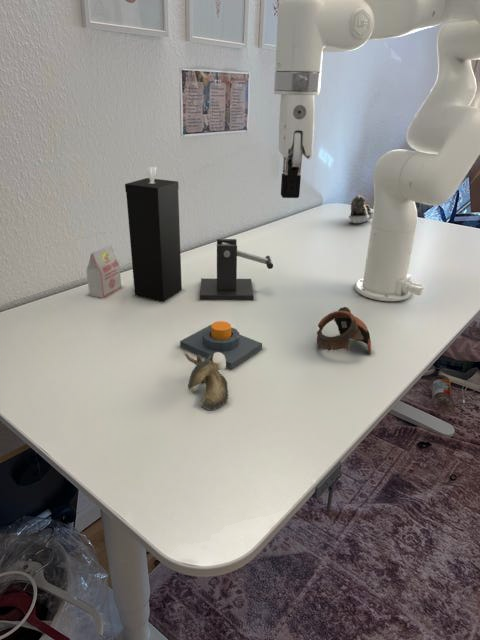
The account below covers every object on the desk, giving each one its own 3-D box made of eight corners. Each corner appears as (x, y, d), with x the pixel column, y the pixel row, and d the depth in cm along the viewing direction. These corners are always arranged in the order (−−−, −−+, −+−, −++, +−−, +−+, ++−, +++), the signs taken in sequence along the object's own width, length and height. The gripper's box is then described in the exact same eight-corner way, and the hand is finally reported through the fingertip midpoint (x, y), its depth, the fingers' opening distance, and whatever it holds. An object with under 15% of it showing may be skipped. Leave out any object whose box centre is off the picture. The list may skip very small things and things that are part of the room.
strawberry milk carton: (89, 295, 107) (84, 252, 103) (108, 284, 113) (104, 244, 109) (103, 298, 106) (98, 255, 102) (121, 287, 112) (117, 246, 107)
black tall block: (182, 290, 111) (178, 165, 98) (163, 302, 105) (156, 170, 92) (153, 284, 114) (146, 161, 101) (134, 296, 107) (123, 167, 95)
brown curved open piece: (378, 365, 84) (364, 333, 79) (327, 378, 87) (311, 349, 83) (370, 320, 93) (356, 289, 88) (323, 334, 96) (308, 305, 92)
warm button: (235, 335, 87) (235, 325, 86) (222, 342, 84) (222, 332, 83) (219, 329, 88) (219, 319, 88) (207, 336, 86) (206, 326, 85)
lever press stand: (250, 283, 116) (252, 235, 110) (253, 300, 107) (255, 249, 102) (201, 283, 115) (200, 235, 110) (199, 300, 106) (198, 249, 101)
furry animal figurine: (172, 374, 77) (176, 397, 69) (194, 337, 76) (201, 356, 68) (212, 393, 80) (220, 418, 71) (234, 357, 79) (245, 379, 70)
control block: (262, 349, 87) (262, 334, 86) (231, 369, 81) (231, 354, 80) (212, 329, 94) (212, 315, 93) (180, 347, 87) (179, 332, 86)
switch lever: (269, 264, 111) (272, 254, 110) (271, 271, 107) (274, 261, 106) (219, 249, 109) (222, 239, 108) (219, 256, 105) (222, 246, 104)
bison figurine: (356, 217, 174) (360, 189, 170) (375, 220, 171) (379, 191, 166) (345, 224, 165) (348, 195, 161) (364, 228, 162) (369, 198, 157)
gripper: (328, 85, 72) (317, 207, 81) (312, 84, 86) (303, 188, 94) (279, 84, 72) (273, 206, 80) (270, 84, 85) (265, 188, 94)
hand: (289, 196), depth 87 cm, fingers closed
